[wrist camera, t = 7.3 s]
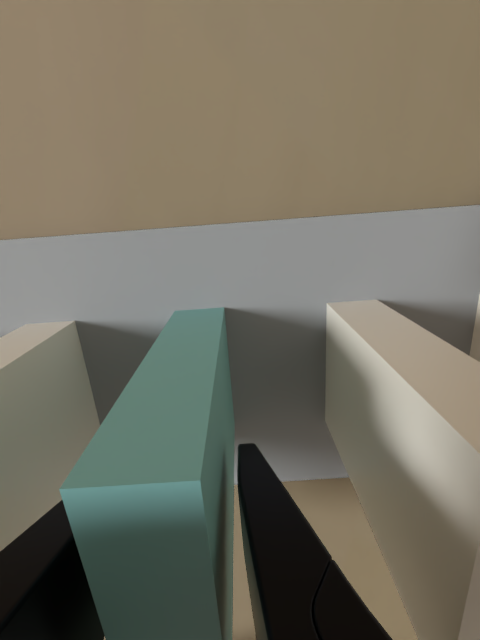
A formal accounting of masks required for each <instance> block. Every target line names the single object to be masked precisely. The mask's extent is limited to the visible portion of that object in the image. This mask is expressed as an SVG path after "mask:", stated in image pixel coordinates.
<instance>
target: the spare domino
mask: <svg viewBox="0 0 480 640" xmlns="http://www.w3.org/2000/svg"><path fill="white" fill-rule="evenodd" d="M234 439H235V422H234V411H233V400H232V389H231V378H230V366H229V355H228V344H227V333H226V322H225V310H224V307H222V308H208V309H194V310H180V311H174V313H173V314H172V316H171V318H170V319H169V321H168V322H167V324H166V325H165V327H164V328H163V330H162V331H161V333H160V334H159V336H158V338H157V339H156V341H155V342H154V344H153V345H152V347H151V348H150V350H149V351H148V353H147V355H146V356H145V358H144V359H143V361H142V362H141V364H140V365H139V367H138V368H137V370H136V371H135V373H134V375H133V376H132V378H131V379H130V381H129V382H128V384H127V385H126V387H125V388H124V390H123V392H122V393H121V395H120V396H119V398H118V399H117V401H116V402H115V404H114V405H113V407H112V408H111V410H110V412H109V413H108V415H107V416H106V418H105V419H104V421H103V422H102V424H101V425H100V427H99V429H98V430H97V432H96V433H95V435H94V436H93V438H92V439H91V441H90V442H89V444H88V446H87V447H86V449H85V450H84V452H83V453H82V455H81V456H80V458H79V459H78V461H77V462H76V464H75V466H74V467H73V469H72V470H71V472H70V473H69V475H68V476H67V478H66V479H65V481H64V483H63V484H62V486H61V487H60V489H59V491H60V494H61V497H62V500H63V504H64V507H65V510H66V513H67V516H68V520H69V523H70V526H71V529H72V532H73V536H74V539H75V542H76V545H77V548H78V552H79V555H80V558H81V561H82V565H83V568H84V571H85V574H86V577H87V581H88V584H89V587H90V590H91V593H92V597H93V600H94V603H95V606H96V609H97V613H98V616H99V619H100V622H101V625H102V629H103V632H104V635H105V638H106V640H232V613H233V526H234Z"/></svg>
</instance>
